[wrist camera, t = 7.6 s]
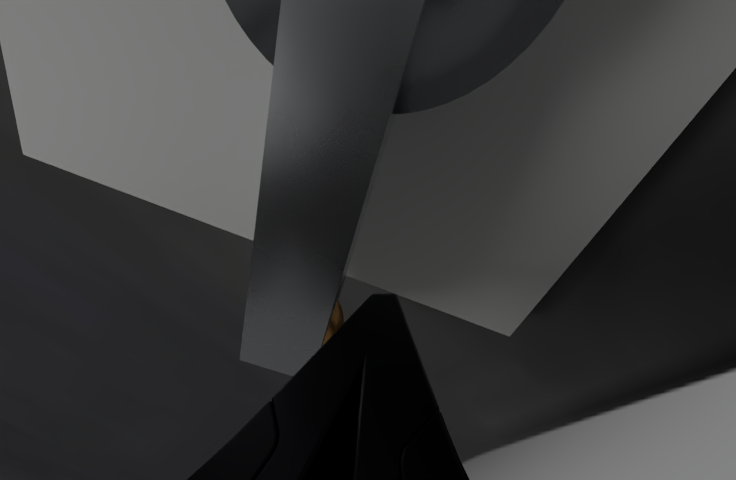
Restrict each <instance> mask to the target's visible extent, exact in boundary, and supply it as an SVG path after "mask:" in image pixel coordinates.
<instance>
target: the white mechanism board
mask: <svg viewBox="0 0 736 480" xmlns="http://www.w3.org/2000/svg"><path fill="white" fill-rule="evenodd" d="M0 43H1V48H2V53H3V57H4V62H5V67H6V72H7V77H8V82H9V87H10V92H11V97H12V102H13V107H14V112H15V117H16V122H17V127H18V132H19V137H20V142H21V146H22V151H23V155H26V156H29V157H31V158H34V159H37V160H40V161H42V162H45V163H48V164H50V165H53V166H56V167H58V168H61V169H64V170H66V171H69V172H72V173H74V174H77V175H80V176H82V177H85V178H88V179H90V180H93V181H96V182H98V183H101V184H104V185H106V186H109V187H112V188H114V189H117V190H120V191H122V192H125V193H128V194H130V195H133V196H136V197H138V198H141V199H144V200H146V201H149V202H152V203H154V204H157V205H160V206H162V207H165V208H168V209H170V210H173V211H176V212H178V213H181V214H184V215H186V216H189V217H192V218H194V219H197V220H200V221H202V222H205V223H208V224H210V225H213V226H216V227H218V228H221V229H224V230H226V231H229V232H232V233H234V234H237V235H240V236H242V237H245V238H248V239H250V240H254V232H255V223H256V214H257V205H258V197H259V188H260V179H261V171H262V162H263V153H264V145H265V136H266V127H267V118H268V110H269V101H270V92H271V84H272V75H273V65H272V64H271V63H270V62H269V61H268V60H267V59H266V58H265V57H264V56H263V55H262V54H261V52H260V51H259V50H258V49H257V48H256V47H255V45H254V44H253V43H252V42H251V41H250V39H249V38H248V37H247V35H246V34H245V32H244V31H243V29H242V28H241V26H240V25H239V23H238V22H237V21H236V19H235V17H234V16H233V14H232V12H231V10H230V8H229V6H228V5H227V3H226V1H225V0H0ZM735 68H736V0H564V2H563V3H562V5H561V6H560V7H559V9H558V10H557V12H556V13H555V15H554V16H553V18H552V19H551V21H550V22H549V23H548V24H547V26H546V27H545V28H544V29H543V30H542V32H541V33H540V34H539V35H538V36H537V38H536V39H535V40H534V41H533V42H532V44H531V45H530V46H529V47H528V48H527V49H526V50H525V51H524V52H522V53H521V54H520V55H519V56H518V57H517V58H516V59H515V60H514V61H513V62H512V63H511V64H510V65H509V66H508V67H506V68H505V69H504V70H502V71H501V72H500V73H499V74H497V75H496V76H495V77H493V78H492V79H491V80H490V81H488V82H486V83H485V84H483V85H482V86H480V87H478V88H477V89H475V90H473V91H472V92H470V93H468V94H466V95H464V96H462V97H460V98H458V99H455V100H453V101H451V102H449V103H447V104H444V105H440V106H437V107H434V108H431V109H427V110H424V111H418V112H412V113H406V114H395V117H394V120H393V123H392V126H391V130H390V133H389V136H388V140H387V143H386V146H385V149H384V153H383V156H382V159H381V162H380V166H379V169H378V172H377V176H376V179H375V182H374V185H373V189H372V192H371V195H370V198H369V202H368V205H367V208H366V211H365V215H364V218H363V221H362V225H361V228H360V231H359V234H358V238H357V241H356V244H355V247H354V251H353V254H352V257H351V260H350V264H349V267H348V270H347V274H346V276H349V277H352V278H354V279H357V280H360V281H362V282H365V283H368V284H370V285H373V286H376V287H378V288H381V289H384V290H386V291H389V292H392V293H394V294H397V295H400V296H402V297H405V298H408V299H410V300H413V301H416V302H418V303H421V304H424V305H426V306H429V307H432V308H434V309H437V310H440V311H443V312H445V313H448V314H451V315H453V316H456V317H459V318H461V319H464V320H467V321H469V322H472V323H475V324H477V325H480V326H483V327H485V328H488V329H491V330H493V331H496V332H499V333H501V334H504V335H507V336H509V337H510V336H511V334H512V333H513V332H514V331H515V330H516V329H517V327H518V326H519V325H520V324H521V323H522V321H523V320H524V319H525V318H526V317H527V315H528V314H529V313H530V312H531V311H532V309H533V308H534V307H535V306H536V305H537V304H538V302H539V301H540V300H541V299H542V298H543V296H544V295H545V294H546V293H547V292H548V290H549V289H550V288H551V287H552V286H553V285H554V283H555V282H556V281H557V280H558V279H559V277H560V276H561V275H562V274H563V273H564V271H565V270H566V269H567V268H568V267H569V265H570V264H571V263H572V262H573V261H574V260H575V258H576V257H577V256H578V255H579V254H580V252H581V251H582V250H583V249H584V248H585V246H586V245H587V244H588V243H589V242H590V241H591V239H592V238H593V237H594V236H595V235H596V233H597V232H598V231H599V230H600V229H601V227H602V226H603V225H604V224H605V223H606V221H607V220H608V219H609V218H610V217H611V216H612V214H613V213H614V212H615V211H616V210H617V208H618V207H619V206H620V205H621V204H622V202H623V201H624V200H625V199H626V198H627V197H628V195H629V194H630V193H631V192H632V191H633V189H634V188H635V187H636V186H637V185H638V183H639V182H640V181H641V180H642V179H643V177H644V176H645V175H646V174H647V173H648V172H649V170H650V169H651V168H652V167H653V166H654V164H655V163H656V162H657V161H658V160H659V158H660V157H661V156H662V155H663V154H664V152H665V151H666V150H667V149H668V148H669V147H670V145H671V144H672V143H673V142H674V141H675V139H676V138H677V137H678V136H679V135H680V133H681V132H682V131H683V130H684V129H685V128H686V126H687V125H688V124H689V123H690V122H691V120H692V119H693V118H694V117H695V116H696V114H697V113H698V112H699V111H700V110H701V108H702V107H703V106H704V105H705V104H706V103H707V101H708V100H709V99H710V98H711V97H712V95H713V94H714V93H715V92H716V91H717V89H718V88H719V87H720V86H721V85H722V84H723V82H724V81H725V80H726V79H727V78H728V76H729V75H730V74H731V73H732V72H733V70H734V69H735Z"/></svg>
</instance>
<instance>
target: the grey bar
mask: <svg viewBox="0 0 736 480" xmlns="http://www.w3.org/2000/svg"><path fill="white" fill-rule="evenodd" d="M225 1H226V3H227V5H228V6H229V8H230V10H231V12H232V14H233V16H234V17H235V19H236V21H237V22H238V23H239V25H240V26H241V28H242V29H243V31H244V32H245V34H246V35H247V37H248V38H249V39H250V41H251V42H252V43H253V44H254V45H255V47H256V48H257V49H258V50H259V51H260V52H261V54H262V55H263V56H264V57H265V58H266V59H267V60H268V61H269V62H270V63H271V64H272V65H273V75H272V84H271V92H270V101H269V110H268V118H267V127H266V136H265V145H264V153H263V162H262V171H261V179H260V188H259V197H258V205H257V214H256V223H255V232H254V240H253V249H252V258H251V266H250V275H249V284H248V292H247V301H246V310H245V319H244V327H243V336H242V345H241V353H240V360H242V361H245V362H248V363H251V364H255V365H258V366H261V367H264V368H268V369H271V370H274V371H277V372H281V373H284V374H287V375H290V376H294V375H295V374H296V373H297V372H298V371H299V370H300V369H301V368H302V367H303V366H304V364H305V363H306V362H307V361H308V360H309V359H310V358H311V357H312V356H313V355H314V354H315V353H316V352H317V351H318V350H319V349H320V348H321V347H322V346H323V345H324V344H325V343H326V342H327V340H328V339H329V338H330V337H331V336H332V335H333V334H334V333H335V332H336V331H337V330H338V329H339V328H340V327H341V326H342V325H343V324H344V317H343V311H342V308H341V305H340V303H339V301H338V298H339V295H340V292H341V289H342V286H343V283H344V280H345V277H346V274H347V270H348V267H349V264H350V260H351V257H352V254H353V251H354V247H355V244H356V241H357V238H358V234H359V231H360V228H361V225H362V221H363V218H364V215H365V211H366V208H367V205H368V202H369V198H370V195H371V192H372V189H373V185H374V182H375V179H376V176H377V172H378V169H379V166H380V162H381V159H382V156H383V153H384V149H385V146H386V143H387V140H388V136H389V133H390V130H391V126H392V123H393V120H394V117H395V114H406V113H412V112H418V111H424V110H427V109H431V108H434V107H437V106H440V105H444V104H447V103H449V102H451V101H453V100H455V99H458V98H460V97H462V96H464V95H466V94H468V93H470V92H472V91H473V90H475V89H477V88H478V87H480V86H482V85H483V84H485V83H486V82H488V81H490V80H491V79H492V78H493V77H495V76H496V75H497V74H499V73H500V72H501V71H502V70H504V69H505V68H506V67H508V66H509V65H510V64H511V63H512V62H513V61H514V60H515V59H516V58H517V57H518V56H519V55H520V54H521V53H522V52H524V51H525V50H526V49H527V48H528V47H529V46H530V45H531V44H532V42H533V41H534V40H535V39H536V38H537V36H538V35H539V34H540V33H541V32H542V30H543V29H544V28H545V27H546V26H547V24H548V23H549V22H550V21H551V19H552V18H553V16H554V15H555V13H556V12H557V10H558V9H559V7H560V6H561V5H562V3H563V2H564V0H225Z"/></svg>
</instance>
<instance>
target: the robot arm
mask: <svg viewBox="0 0 736 480" xmlns="http://www.w3.org/2000/svg"><path fill="white" fill-rule="evenodd" d="M187 480H469V478H468V476H467V474H466V472H465V470H464V468H463V465H462V463H461V461H460V459H459V457H458V454H457V452H456V449H455V447H454V445H453V442H452V440H451V437H450V435H449V432H448V430H447V427H446V425H445V422H444V419H443V417H442V414H441V412H440V410H439V406H438V404H437V401H436V398H435V396H434V393H433V390H432V388H431V385H430V382H429V380H428V377H427V374H426V372H425V369H424V366H423V364H422V361H421V358H420V356H419V353H418V350H417V348H416V345H415V342H414V340H413V337H412V334H411V331H410V329H409V326H408V323H407V321H406V318H405V315H404V313H403V310H402V307H401V305H400V302H399V299H398V297H397V295H396V294H372V295H371V296H370V297H369V298H368V299H367V300H366V301H365V302H364V303H363V304H362V305H361V306H360V307H359V308H358V309H357V310H356V311H355V312H354V313H353V314H352V315H351V316H350V318H349V319H348V320H347V321H346V322H345V323H344V324H343V325H342V326H341V327H340V328H339V329H338V330H337V331H336V332H335V333H334V334H333V335H332V336H331V337H330V338H329V339H328V340H327V342H326V343H325V344H324V345H323V346H322V347H321V348H320V349H319V350H318V351H317V352H316V353H315V354H314V355H313V356H312V357H311V358H310V359H309V360H308V361H307V362H306V363H305V364H304V366H303V367H302V368H301V369H300V370H299V371H298V372H297V373H296V374H295V375H294V376H293V377H292V378H291V379H290V380H289V381H288V382H287V383H286V384H285V385H284V386H283V387H282V388H281V390H280V391H279V392H278V393H277V394H276V395H275V396H274V397H273V398H272V402H271V401H269V402H268V403H267V404H266V405H265V406H264V407H263V408H262V409H261V410H260V411H259V412H258V413H257V414H256V415H255V416H254V417H253V418H252V419H251V420H250V421H249V422H248V423H247V424H246V425H245V426H244V427H243V428H242V429H241V430H240V431H239V432H238V433H237V434H236V435H235V436H234V437H233V438H232V439H231V440H230V441H229V442H228V443H227V444H226V445H225V446H224V447H223V448H222V449H220V450H219V451H218V452H217V453H216V454H215V455H214V456H213V457H212V458H211V459H210V460H208V461H207V462H206V463H205V464H204V465H203V466H202V467H201V468H200V469H198V470H197V471H196V472H195V473H194V474H193V475H192V476H191V477H189V478H188V479H187Z"/></svg>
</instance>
